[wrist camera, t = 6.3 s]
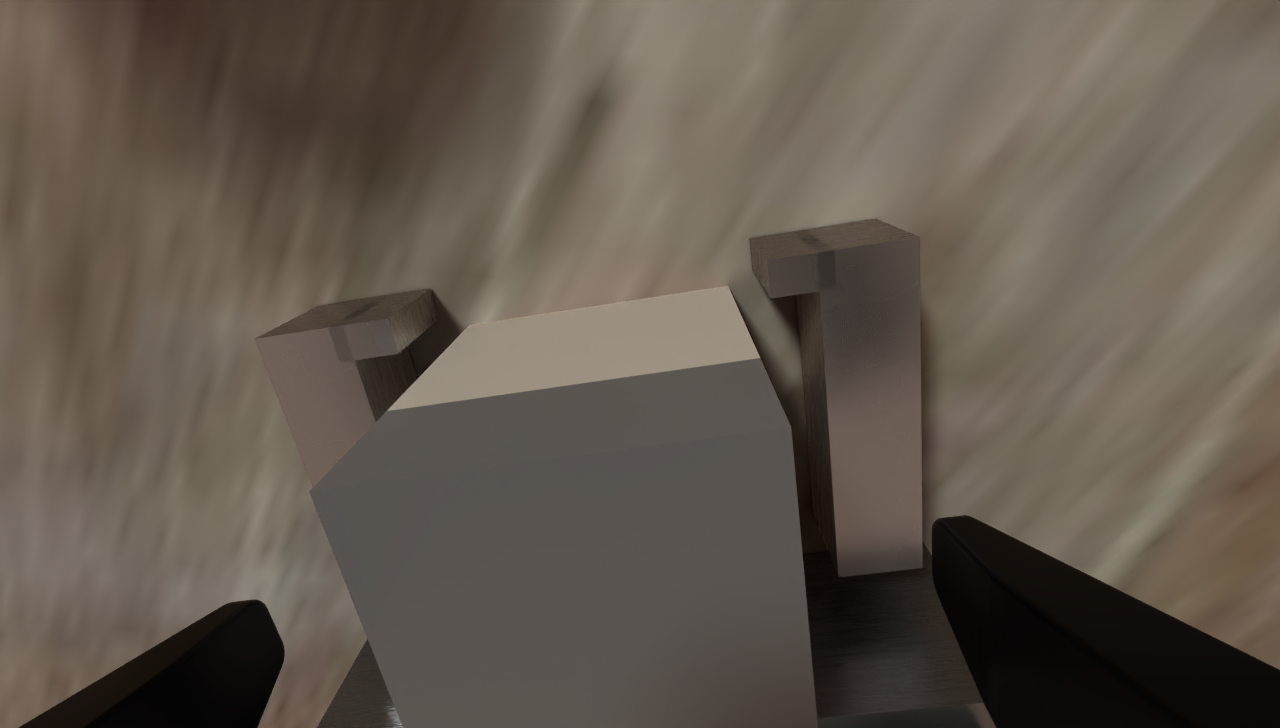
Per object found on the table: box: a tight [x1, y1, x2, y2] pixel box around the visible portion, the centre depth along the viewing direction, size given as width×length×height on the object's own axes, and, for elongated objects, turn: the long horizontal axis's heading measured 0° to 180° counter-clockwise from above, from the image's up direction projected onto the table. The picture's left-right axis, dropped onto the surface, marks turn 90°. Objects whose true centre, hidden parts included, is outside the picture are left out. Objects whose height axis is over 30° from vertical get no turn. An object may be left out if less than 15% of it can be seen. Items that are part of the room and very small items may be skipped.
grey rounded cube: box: [309, 286, 818, 728], centre depth 10 cm, size 5×5×6 cm
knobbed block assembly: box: [255, 219, 996, 728], centre depth 11 cm, size 11×12×5 cm
